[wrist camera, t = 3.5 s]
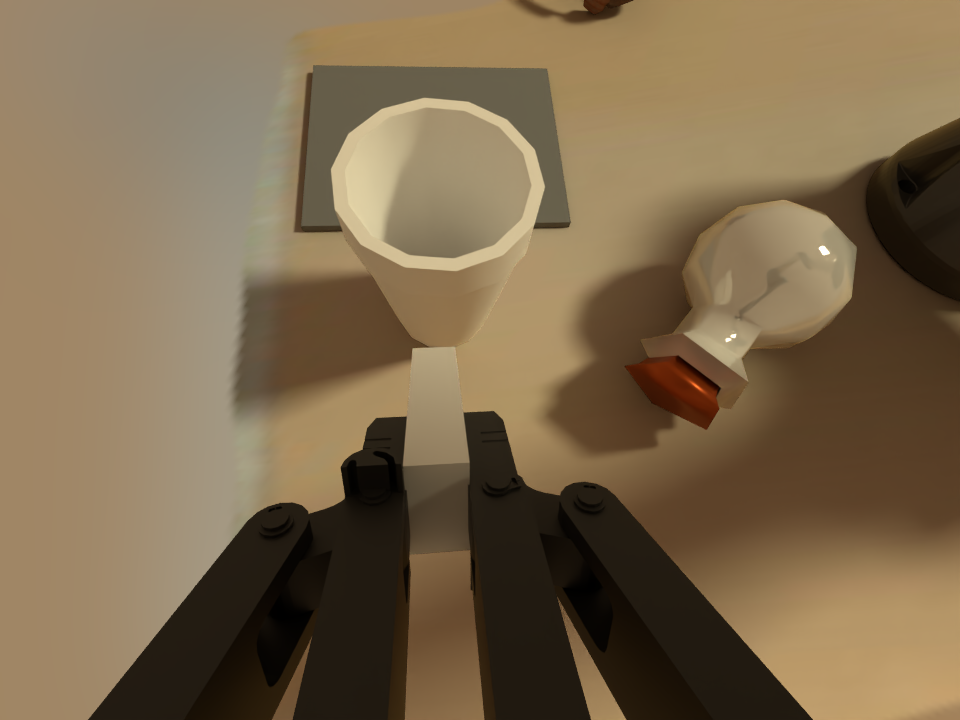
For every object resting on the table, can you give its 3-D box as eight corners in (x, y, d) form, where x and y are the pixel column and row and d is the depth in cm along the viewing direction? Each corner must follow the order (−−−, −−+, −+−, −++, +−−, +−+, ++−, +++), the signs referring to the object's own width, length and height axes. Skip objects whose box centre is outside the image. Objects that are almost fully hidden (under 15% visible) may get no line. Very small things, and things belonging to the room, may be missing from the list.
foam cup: (401, 389, 30) (369, 300, 18) (357, 274, 33) (303, 128, 21) (530, 340, 32) (580, 229, 20) (478, 234, 35) (494, 79, 23)
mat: (568, 226, 36) (570, 222, 35) (303, 230, 34) (301, 226, 33) (545, 74, 41) (547, 68, 40) (315, 72, 39) (313, 65, 39)
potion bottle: (761, 279, 37) (651, 421, 34) (711, 178, 33) (582, 331, 30) (906, 281, 29) (776, 467, 26) (864, 147, 24) (705, 353, 22)
